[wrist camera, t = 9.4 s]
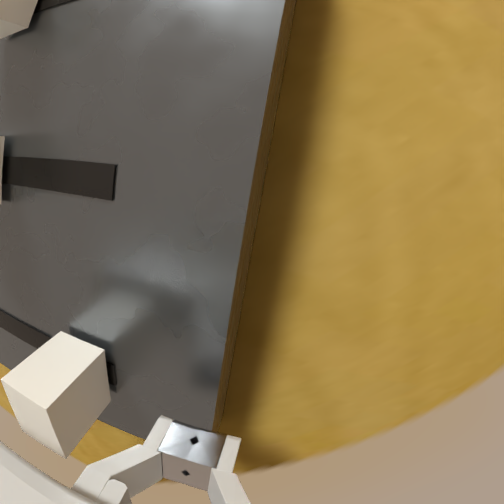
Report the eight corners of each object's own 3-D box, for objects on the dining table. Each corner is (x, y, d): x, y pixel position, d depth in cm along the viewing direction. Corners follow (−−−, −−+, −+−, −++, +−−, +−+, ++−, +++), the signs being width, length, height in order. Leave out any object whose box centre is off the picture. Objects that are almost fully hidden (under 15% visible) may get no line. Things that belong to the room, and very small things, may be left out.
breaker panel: (306, -55, 8) (304, -97, 5) (221, 419, 15) (207, 461, 12) (22, -8, 10) (-8, -19, 7) (-3, 324, 17) (-30, 341, 14)
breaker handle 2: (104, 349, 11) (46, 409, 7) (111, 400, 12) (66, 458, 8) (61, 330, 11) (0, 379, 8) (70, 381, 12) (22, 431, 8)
